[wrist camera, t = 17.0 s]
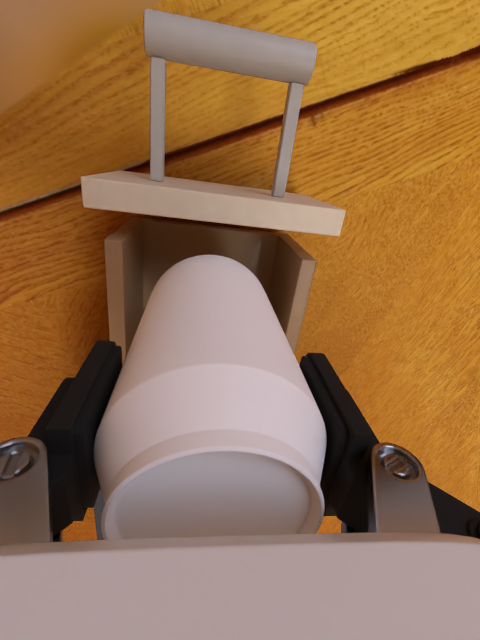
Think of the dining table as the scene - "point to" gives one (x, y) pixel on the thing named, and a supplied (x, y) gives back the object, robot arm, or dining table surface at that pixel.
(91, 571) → the robot arm
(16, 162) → the dining table surface
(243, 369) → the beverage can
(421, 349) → the dining table surface
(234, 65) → the drawer
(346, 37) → the dining table surface
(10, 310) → the dining table surface
